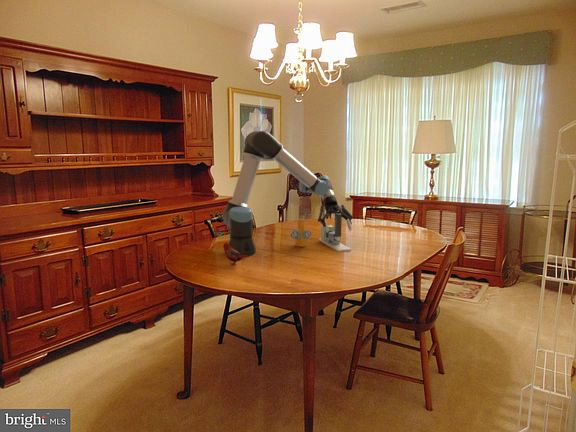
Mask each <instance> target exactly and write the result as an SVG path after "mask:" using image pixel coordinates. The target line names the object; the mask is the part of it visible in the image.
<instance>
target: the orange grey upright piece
mask: <svg viewBox="0 0 576 432" xmlns="http://www.w3.org/2000/svg"><path fill="white" fill-rule="evenodd" d="M305 221H306V219H305V218H297V229H296V228H295V229H293V231H292V232H291V234H290V236H291V238H292V239H295V247H300V248H303V247H304V248H305V247H307V240H308V239H310V237H311V236H312V231H311V230H310V229H305V228H306V223H305Z"/></svg>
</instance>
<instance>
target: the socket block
mask: <svg viewBox="0 0 576 432" xmlns="http://www.w3.org/2000/svg"><path fill="white" fill-rule="evenodd" d="M327 225H328V224H327ZM328 228H329V232H333V231H334V229H335V225H334V226H333V225H331V224H329V225H328ZM320 239H322V240H323V241H328V235H326V230H325V227H323V225H320Z"/></svg>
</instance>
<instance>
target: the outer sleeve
mask: <svg viewBox="0 0 576 432" xmlns="http://www.w3.org/2000/svg"><path fill="white" fill-rule="evenodd" d="M340 241H341V240H340ZM340 241H337V240H335V239H334V231H333V232H328V242H329V243H332V245H339V244H340V243H341V242H340Z"/></svg>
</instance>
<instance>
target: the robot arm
mask: <svg viewBox="0 0 576 432" xmlns="http://www.w3.org/2000/svg"><path fill="white" fill-rule="evenodd" d="M243 156H244V158H243V161H242V164H241V167H240V171H239V175H238V178H237V182H236V184H235V187H234V191H233V195H232V197H231V199H230V200H228V201H227V204H226V207H225V208H224V209H223V211H222V214H221V217H222V222H224V224H225V226H227V227H228V228H229V241H228V244H229V245H230V246H231V247H232V248H233V249H234V250H236V251H238V252H239V253H240V254H241V255H247V256H249V257H250V256H253V255H255V254H256V253H257V247H256V244H255V242H254V239H253V211H252V209H251V208H250V206H249V205H248V201H249V199H250V195H251V192H252V188H253V186H254V183H255V179H256V176H257V172H258V170H259V169H258V168H259V167H260V164H261V161H263V160H264V159H265V157H267V158H268V159H269V160H274V161H275V162H276V163H277V164H279V165H280V166H281V167H282V168H284V169H285V170H286V171H287V172H288V173H290V174H291V175H292V176H293V177H295V179H296V180H298V181H299V183H298V189H299V191H300V192H301V193H309V194H313V195H317V196H320V197H321V201H322V202H323V205H321V206H320V207H319V216H318V218H317V222H318V223H319V222H320V223H321V226H323V227H325V230H326V233H328V231H329V228H328V222H327V220H326V219H327V217H328V216H329V214H330V215H332V214H334V215H335V214H342V218H343V219H344V220H345V222H346V225H347V228H348V231H349V232H351V231H352V230H353V227H352V220H353V218H354V216H353V215H352V214H351V213H350V212H349V211H348V209H346V207H345V206H344V204H341V205H339V204H338V201H337V197H336V194H335V192H334V189H333V185H332V182H331V180H330V178H329V176H327V175H322V176H318V177H317V176H316V175H315V174H314V173H312V172H311V171H310V170H309V169H308V168H307V167H306V166H304V164H302V163H301V162H300V161H298V160H297V158H295V157H294V156H293V155H292V154H290V152H288V151H287V150H286V149H284V145H283V144H282V143H281V142H280V141H278V140H277V139H276V138H275V137H274V136H273V135H272V134H271V133H269V132H267V131H265V130H259V131H258V130H255V131H251V132H249V133H248V134H247V135H246V136H245V138H244V148H243ZM324 211H326V212H325V214H324V215H323V213H324Z"/></svg>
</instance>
